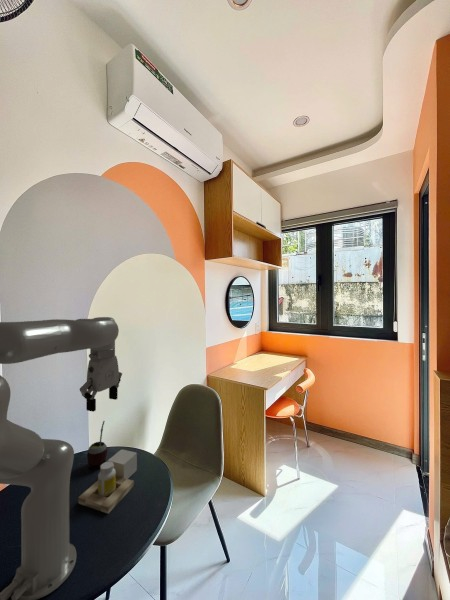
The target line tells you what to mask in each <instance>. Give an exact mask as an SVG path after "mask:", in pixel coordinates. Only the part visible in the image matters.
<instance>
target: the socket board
mask: <svg viewBox="0 0 450 600" xmlns="http://www.w3.org/2000/svg"><path fill="white" fill-rule="evenodd" d="M134 486H135V480H133V479H129V478H128V479H126V478H123V477H119V476H116V490H115V491H114V492H113V493H112V494H111V495H110V496H109V497H108V498H107V497H104V496H100V495H98V480H97V481H95V482H94V483H93V484H92V485H90V487H89V488H87V489H86V490H85V491H84V492H83V493H81V494H80V495H79V496H78V501H77V502H78V503H77V504H79V505H81V506H85V507H87V508H91V509H93V510H97V511H99V512H102V513H105V514H110V512H111V511H112V510H114V508H115V507H116V506H117V505H118V504H119V503H120V502H121V501H122V500H123V499H124V497H126V495H127V494H128V493H129V492H130V491H131V490H132V489H133V488H134Z"/></svg>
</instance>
